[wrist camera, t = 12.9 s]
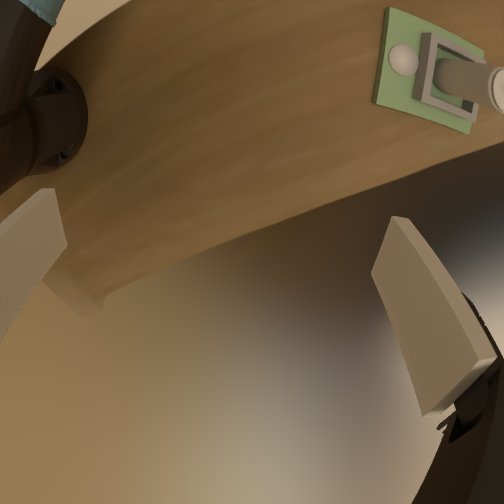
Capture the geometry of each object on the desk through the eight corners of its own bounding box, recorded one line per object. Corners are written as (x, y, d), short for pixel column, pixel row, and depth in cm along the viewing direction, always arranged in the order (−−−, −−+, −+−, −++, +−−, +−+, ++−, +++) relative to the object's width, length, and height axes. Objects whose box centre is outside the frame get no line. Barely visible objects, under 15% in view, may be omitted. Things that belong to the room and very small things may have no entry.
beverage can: (445, 51, 24) (509, 59, 15) (464, 81, 26) (527, 100, 16) (423, 70, 26) (485, 82, 17) (443, 101, 28) (505, 124, 18)
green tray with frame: (371, 102, 31) (384, 107, 28) (385, 8, 24) (398, 3, 20) (463, 132, 32) (479, 140, 28) (477, 50, 24) (495, 52, 21)
